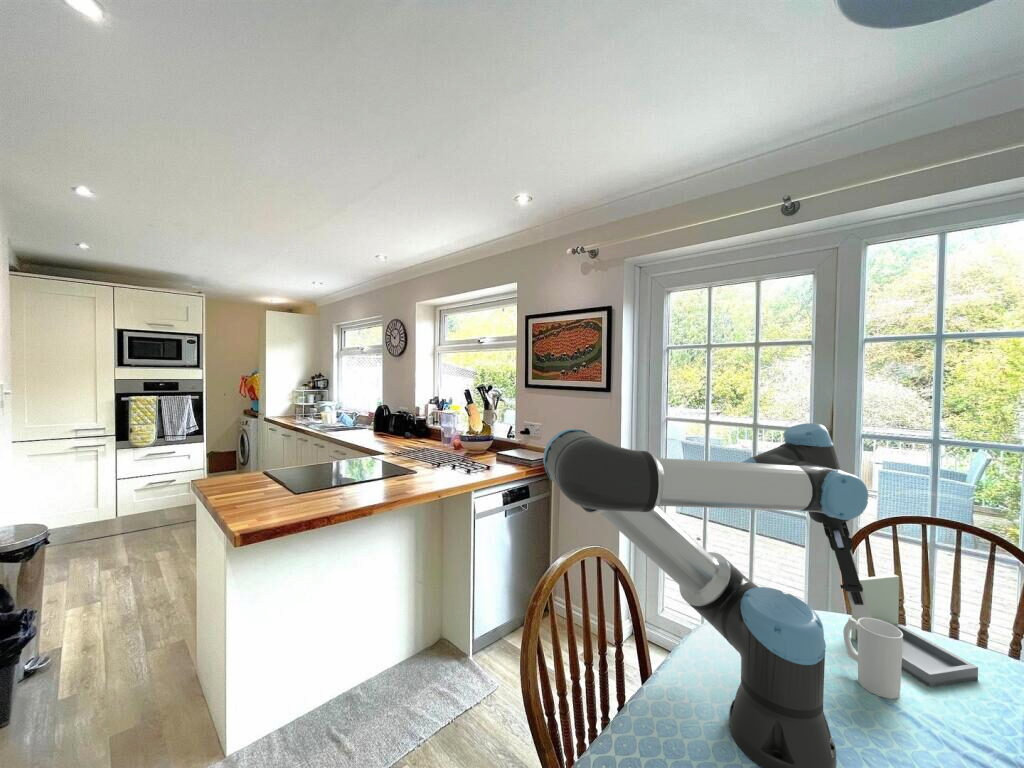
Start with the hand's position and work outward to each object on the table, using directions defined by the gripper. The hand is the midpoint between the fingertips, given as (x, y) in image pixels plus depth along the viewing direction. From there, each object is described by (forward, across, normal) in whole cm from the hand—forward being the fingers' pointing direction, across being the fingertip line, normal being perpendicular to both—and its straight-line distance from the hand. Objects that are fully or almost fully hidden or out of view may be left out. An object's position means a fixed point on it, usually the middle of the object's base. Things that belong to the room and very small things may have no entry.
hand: (856, 593), depth 87 cm
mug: (+16, -5, +2) cm, 17 cm away
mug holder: (+21, +8, -6) cm, 23 cm away
